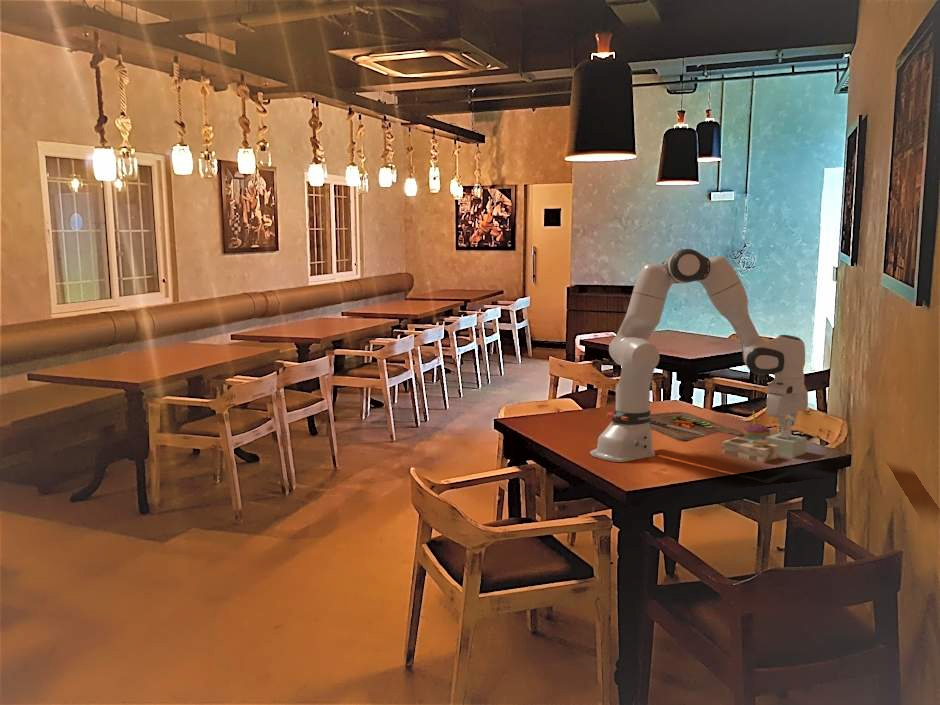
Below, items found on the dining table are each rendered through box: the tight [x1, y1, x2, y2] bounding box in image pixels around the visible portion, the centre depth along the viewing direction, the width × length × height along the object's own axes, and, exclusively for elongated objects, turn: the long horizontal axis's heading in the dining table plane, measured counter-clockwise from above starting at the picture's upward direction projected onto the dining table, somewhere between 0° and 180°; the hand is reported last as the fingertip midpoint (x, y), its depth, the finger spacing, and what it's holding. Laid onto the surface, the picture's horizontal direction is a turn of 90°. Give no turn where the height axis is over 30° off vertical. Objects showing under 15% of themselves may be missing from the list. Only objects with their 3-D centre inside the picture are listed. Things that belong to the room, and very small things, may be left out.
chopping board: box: [649, 411, 744, 443], centre depth 284 cm, size 45×27×3 cm, turn 18°
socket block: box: [721, 436, 779, 464], centre depth 240 cm, size 9×14×5 cm, turn 39°
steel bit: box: [780, 417, 792, 441], centre depth 242 cm, size 3×3×11 cm
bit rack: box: [765, 432, 808, 459], centre depth 243 cm, size 9×9×6 cm
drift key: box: [752, 439, 770, 447], centre depth 237 cm, size 4×4×6 cm
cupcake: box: [743, 408, 771, 440], centre depth 257 cm, size 9×8×12 cm
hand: (787, 426), depth 242 cm, fingers open, 4 cm apart
